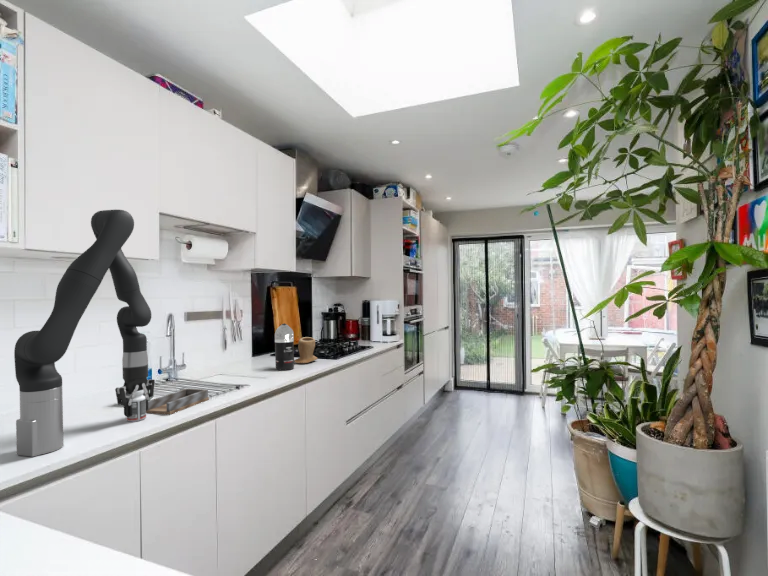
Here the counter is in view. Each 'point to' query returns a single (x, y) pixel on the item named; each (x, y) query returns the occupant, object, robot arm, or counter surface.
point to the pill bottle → (138, 407)
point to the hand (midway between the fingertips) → (136, 413)
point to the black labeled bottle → (284, 348)
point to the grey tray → (177, 401)
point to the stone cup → (306, 350)
